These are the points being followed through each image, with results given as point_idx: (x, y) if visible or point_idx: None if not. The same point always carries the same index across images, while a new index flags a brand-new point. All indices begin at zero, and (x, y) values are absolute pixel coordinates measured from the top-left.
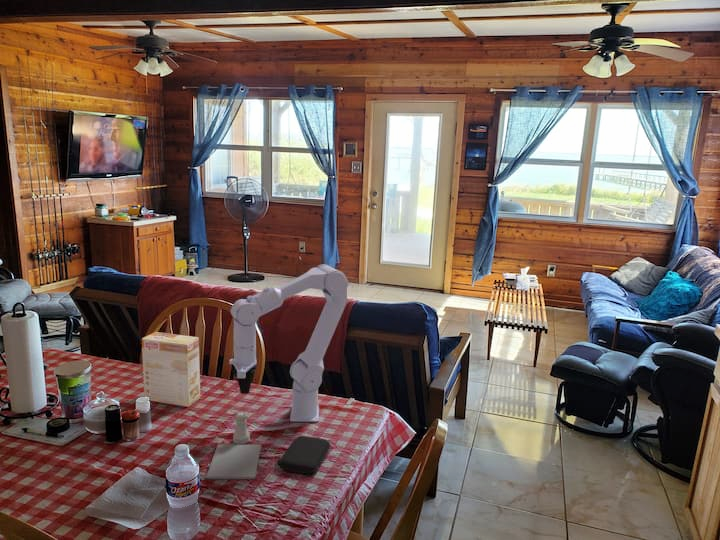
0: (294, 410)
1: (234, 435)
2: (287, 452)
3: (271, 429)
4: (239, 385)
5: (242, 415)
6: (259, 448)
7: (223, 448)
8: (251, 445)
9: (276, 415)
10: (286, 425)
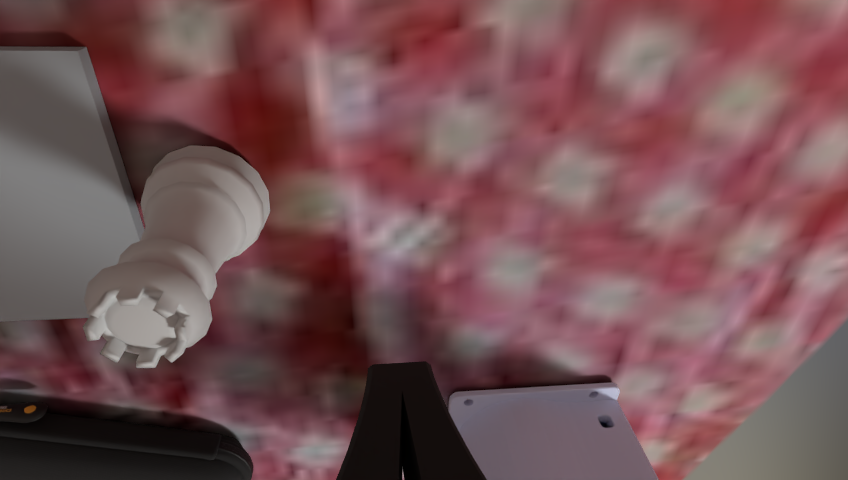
0: (491, 441)
1: (164, 177)
2: (36, 463)
3: (372, 324)
4: (345, 460)
5: (115, 337)
6: None
7: (35, 105)
8: None
9: (532, 327)
10: None
